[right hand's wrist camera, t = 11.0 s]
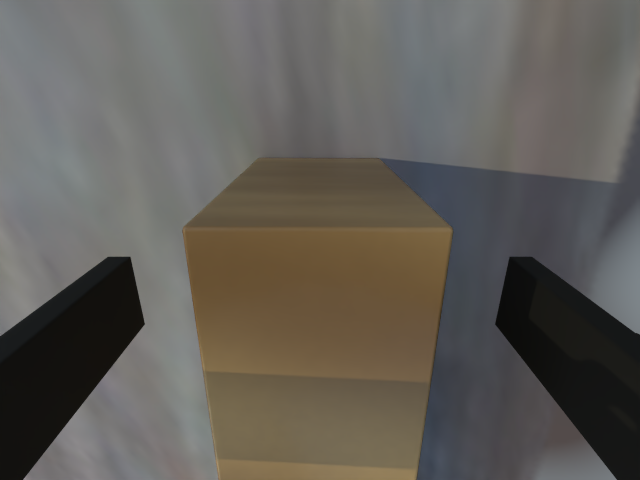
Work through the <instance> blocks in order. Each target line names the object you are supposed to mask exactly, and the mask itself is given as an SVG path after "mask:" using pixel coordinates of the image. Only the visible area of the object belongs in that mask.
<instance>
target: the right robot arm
mask: <svg viewBox="0 0 640 480" xmlns="http://www.w3.org/2000/svg"><path fill="white" fill-rule="evenodd" d="M144 325H145V323H144V318H143V314H142V309H141V304H140V300H139V295H138V290H137V286H136V281H135V276H134V272H133V267H132V262H131V258H130V257H107V258H106V259H105V260H103V261H102V262H100V263H99V264H98V265H96V266H95V267H94V268H92V269H91V270H90V271H88V272H87V273H86V274H84V275H83V276H82V277H80V278H79V279H77V280H76V281H75V282H73V283H72V284H71V285H69V286H68V287H67V288H65V289H64V290H63V291H61V292H60V293H58V294H57V295H56V296H54V297H53V298H52V299H50V300H49V301H48V302H46V303H45V304H44V305H42V306H41V307H39V308H38V309H37V310H35V311H34V312H33V313H31V314H30V315H29V316H27V317H26V318H25V319H23V320H22V321H21V322H19V323H18V324H16V325H15V326H14V327H12V328H11V329H10V330H8V331H7V332H6V333H4V334H3V335H2V336H0V480H23V479H24V478H25V476H26V475H27V474H28V473H29V471H30V470H31V469H32V467H33V466H34V465H35V464H36V462H37V461H38V460H39V459H40V457H41V456H42V455H43V453H44V452H45V451H46V450H47V448H48V447H49V446H50V444H51V443H52V442H53V441H54V439H55V438H56V437H57V436H58V434H59V433H60V432H61V430H62V429H63V428H64V427H65V425H66V424H67V423H68V422H69V420H70V419H71V418H72V416H73V415H74V414H75V413H76V411H77V410H78V409H79V407H80V406H81V405H82V404H83V402H84V401H85V400H86V399H87V397H88V396H89V395H90V393H91V392H92V391H93V390H94V388H95V387H96V386H97V385H98V383H99V382H100V381H101V379H102V378H103V377H104V376H105V374H106V373H107V372H108V370H109V369H110V368H111V367H112V365H113V364H114V363H115V362H116V360H117V359H118V358H119V356H120V355H121V354H122V353H123V351H124V350H125V349H126V348H127V346H128V345H129V344H130V342H131V341H132V340H133V339H134V337H135V336H136V335H137V333H138V332H139V331H140V330H141V328H142V327H143V326H144ZM495 325H496V326H497V327H498V328H499V330H500V331H501V332H502V333H503V335H504V336H505V337H506V339H507V340H508V341H509V342H510V344H511V345H512V346H513V348H514V349H515V350H516V351H517V353H518V354H519V355H520V356H521V358H522V359H523V360H524V362H525V363H526V364H527V365H528V367H529V368H530V369H531V370H532V372H533V373H534V374H535V376H536V377H537V378H538V379H539V381H540V382H541V383H542V385H543V386H544V387H545V388H546V390H547V391H548V392H549V393H550V395H551V396H552V397H553V399H554V400H555V401H556V402H557V404H558V405H559V406H560V407H561V409H562V410H563V411H564V413H565V414H566V415H567V416H568V418H569V419H570V420H571V422H572V423H573V424H574V425H575V427H576V428H577V429H578V430H579V432H580V433H581V434H582V435H583V437H584V438H585V439H586V441H587V442H588V443H589V444H590V446H591V447H592V448H593V450H594V451H595V452H596V453H597V455H598V456H599V457H600V459H601V460H602V461H603V462H604V464H605V465H606V466H607V467H608V469H609V470H610V471H611V473H612V474H613V475H614V476H615V478H616V479H617V480H640V335H639V334H637V333H634V332H633V331H632V330H630V329H629V328H628V327H626V326H625V325H624V324H622V323H621V322H619V321H618V320H617V319H615V318H614V317H613V316H611V315H610V314H609V313H607V312H606V311H605V310H603V309H602V308H600V307H599V306H598V305H596V304H595V303H594V302H592V301H591V300H590V299H588V298H587V297H586V296H584V295H583V294H582V293H580V292H579V291H577V290H576V289H575V288H573V287H572V286H571V285H569V284H568V283H567V282H565V281H564V280H563V279H561V278H560V277H558V276H557V275H556V274H554V273H553V272H552V271H550V270H549V269H548V268H546V267H545V266H544V265H542V264H541V263H540V262H538V261H537V260H535V259H534V258H533V257H510V258H509V262H508V267H507V272H506V276H505V281H504V286H503V290H502V295H501V300H500V304H499V309H498V314H497V318H496V323H495Z"/></svg>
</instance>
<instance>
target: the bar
mask: <svg viewBox="0 0 640 480" xmlns="http://www.w3.org/2000/svg"><path fill="white" fill-rule="evenodd" d="M183 237H184V244H185V251H186V258H187V265H188V272H189V278H190V285H191V292H192V299H193V306H194V313H195V320H196V327H197V333H198V340H199V347H200V354H201V361H202V368H203V375H204V382H205V388H206V395H207V402H208V409H209V416H210V423H211V430H212V437H213V443H214V450H215V457H216V464H217V471H218V478H219V480H417V473H418V467H419V460H420V453H421V446H422V440H423V433H424V426H425V419H426V413H427V406H428V399H429V392H430V385H431V379H432V372H433V365H434V358H435V352H436V345H437V338H438V331H439V325H440V318H441V311H442V304H443V298H444V291H445V284H446V277H447V271H448V264H449V257H450V250H451V243H452V237H453V228H452V227H451V226H450V225H449V224H448V223H447V222H446V221H445V220H444V219H443V218H441V217H440V216H439V215H438V214H437V213H436V212H435V211H434V210H433V209H432V208H431V207H430V206H429V205H428V204H427V203H426V202H425V201H424V200H422V199H421V198H420V197H419V196H418V195H417V194H416V193H415V192H414V191H413V190H412V189H411V188H410V187H409V186H408V185H407V184H406V183H405V182H403V181H402V180H401V179H400V178H399V177H398V176H397V175H396V174H395V173H394V172H393V171H392V170H391V169H390V168H389V167H388V166H387V165H386V164H384V163H383V162H382V161H381V160H380V159H379V158H258V159H257V160H256V161H255V162H254V163H253V164H252V165H251V166H250V167H248V168H247V169H246V170H245V171H244V172H243V173H242V174H241V175H240V176H239V177H238V178H236V179H235V180H234V181H233V182H232V183H231V184H230V185H229V186H228V187H227V188H226V189H224V190H223V191H222V192H221V193H220V194H219V195H218V196H217V197H216V198H215V199H214V200H212V201H211V202H210V203H209V204H208V205H207V206H206V207H205V208H204V209H203V210H202V211H200V212H199V213H198V214H197V215H196V216H195V217H194V218H193V219H192V220H191V221H190V222H188V223H187V224H186V225H185V226H184V227H183Z"/></svg>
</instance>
